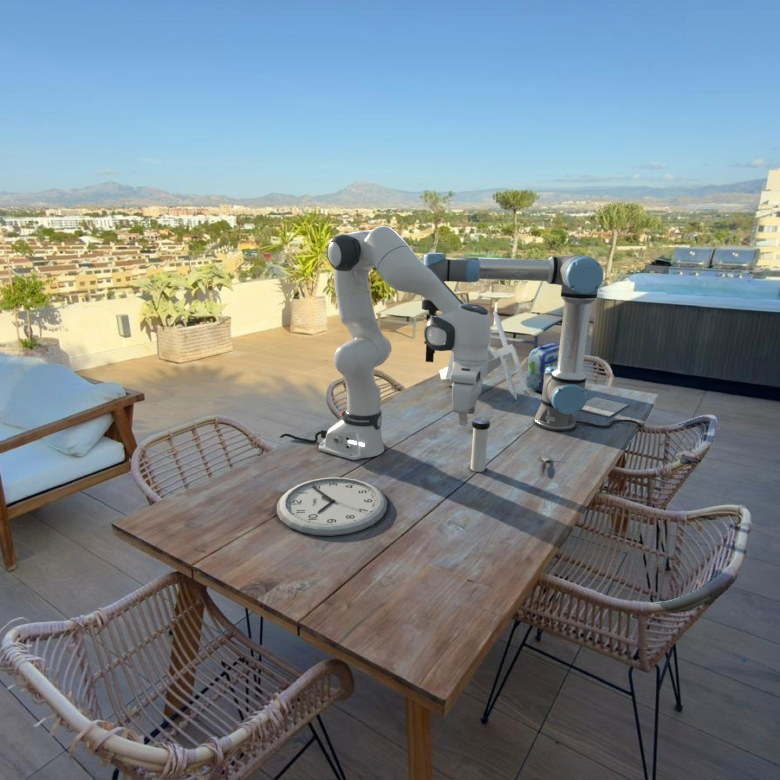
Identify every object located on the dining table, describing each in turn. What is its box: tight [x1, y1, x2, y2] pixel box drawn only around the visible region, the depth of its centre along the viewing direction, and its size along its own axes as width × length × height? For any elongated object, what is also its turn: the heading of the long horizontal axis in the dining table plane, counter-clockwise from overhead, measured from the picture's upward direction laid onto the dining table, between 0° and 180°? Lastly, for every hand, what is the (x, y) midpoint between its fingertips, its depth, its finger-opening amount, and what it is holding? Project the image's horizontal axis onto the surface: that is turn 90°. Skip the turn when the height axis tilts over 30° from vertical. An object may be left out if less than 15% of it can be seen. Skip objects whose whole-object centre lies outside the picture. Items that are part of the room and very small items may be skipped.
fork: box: [541, 449, 551, 474], centre depth 169 cm, size 3×16×2 cm, turn 160°
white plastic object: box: [438, 310, 531, 400], centre depth 245 cm, size 37×45×31 cm
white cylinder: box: [470, 426, 489, 473], centre depth 164 cm, size 4×4×16 cm
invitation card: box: [580, 396, 629, 418], centre depth 226 cm, size 21×1×15 cm
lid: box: [471, 417, 491, 430], centre depth 161 cm, size 5×5×2 cm
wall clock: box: [276, 476, 388, 537], centre depth 142 cm, size 30×2×30 cm
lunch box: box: [525, 343, 560, 393], centre depth 249 cm, size 26×11×21 cm, turn 134°
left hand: (467, 418), depth 139 cm, fingers open, 8 cm apart
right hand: (430, 357), depth 190 cm, fingers open, 13 cm apart
